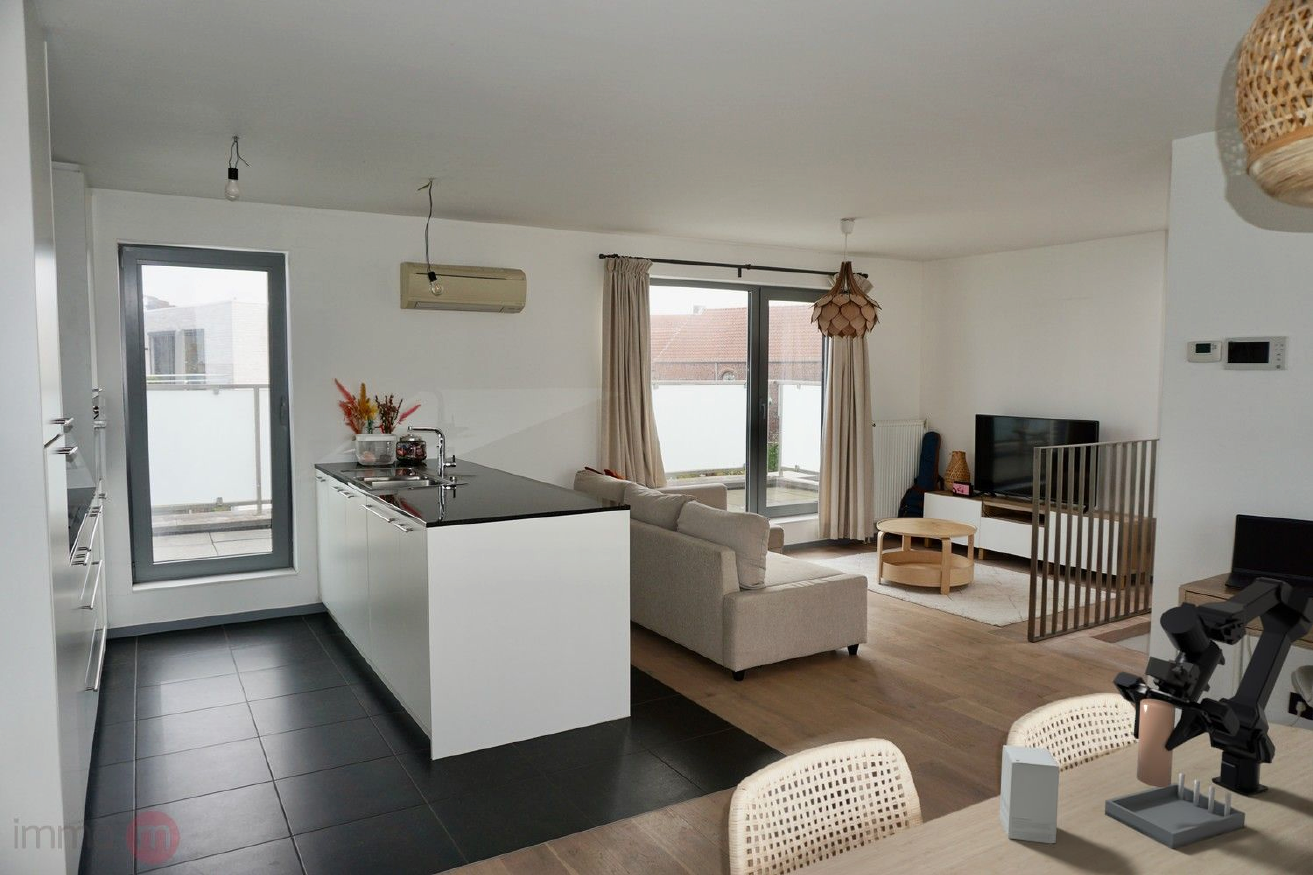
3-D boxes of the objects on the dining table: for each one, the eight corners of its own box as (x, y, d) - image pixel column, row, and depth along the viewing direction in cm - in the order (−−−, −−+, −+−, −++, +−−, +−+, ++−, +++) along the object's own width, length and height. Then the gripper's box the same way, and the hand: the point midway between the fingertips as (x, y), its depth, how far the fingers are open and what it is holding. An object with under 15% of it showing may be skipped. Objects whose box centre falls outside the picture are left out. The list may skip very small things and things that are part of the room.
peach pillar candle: (1141, 770, 148) (1145, 696, 148) (1174, 780, 145) (1178, 704, 144) (1132, 779, 145) (1136, 703, 144) (1166, 790, 141) (1170, 712, 141)
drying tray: (1175, 795, 154) (1176, 768, 154) (1244, 827, 144) (1246, 797, 143) (1104, 813, 147) (1106, 785, 147) (1172, 848, 136) (1174, 817, 136)
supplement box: (1056, 844, 137) (1060, 766, 136) (1007, 839, 138) (1010, 761, 137) (1045, 822, 144) (1049, 747, 143) (998, 816, 145) (1001, 743, 145)
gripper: (1121, 626, 154) (1079, 697, 149) (1234, 655, 137) (1190, 736, 133) (1146, 663, 158) (1105, 733, 153) (1257, 696, 142) (1216, 775, 137)
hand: (1150, 743), depth 144 cm, fingers closed on peach pillar candle, 5 cm apart
